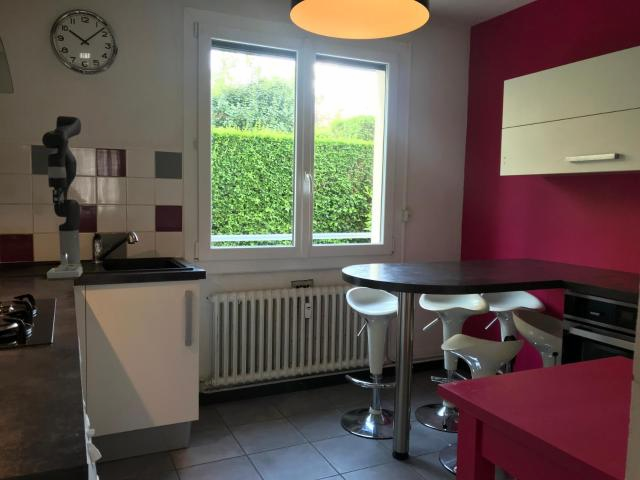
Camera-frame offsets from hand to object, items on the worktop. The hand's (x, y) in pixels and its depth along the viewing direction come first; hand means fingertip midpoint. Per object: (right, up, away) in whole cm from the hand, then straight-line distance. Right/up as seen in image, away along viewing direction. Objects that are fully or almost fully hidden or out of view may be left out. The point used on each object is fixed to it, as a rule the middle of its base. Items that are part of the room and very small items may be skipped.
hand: (59, 212), depth 244 cm
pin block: (+5, -28, 0) cm, 29 cm away
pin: (+9, -29, -12) cm, 32 cm away
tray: (+9, -30, -12) cm, 33 cm away
